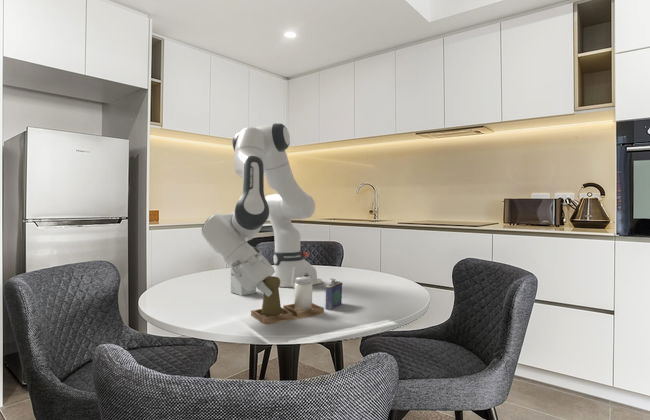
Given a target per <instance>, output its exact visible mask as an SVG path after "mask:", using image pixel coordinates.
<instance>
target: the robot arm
mask: <svg viewBox="0 0 650 420" xmlns="http://www.w3.org/2000/svg"><path fill="white" fill-rule="evenodd" d="M231 143H232V148H233V151H234V155H233V164H234V165H233V166H234V172H235V174H236V175H237V176H239V177H240V178H242V194H241V196H240V197H239V199H238V200H237V201H236V205H235V207H234V211H233V212H230V213H220V214H219V213H213V214H212V215H210V216H209V217H208V218H207V219H206V221H204V224H203V226H202V227H201V235H202V237H203V238H204V240H205V241H206V242H207V244H208V245H209V246H210V247H211V248H212V250H213V251H214V252H215V253H216V254H218V255H220V256H221V259H222V260H223V262H224V263H225V264H226V265H227V267H228V268H230V270H231V269H232V270H233V271H234V272H233V274H234V276H235V278H236V279H237V280H238V282H239V283H240V284H241V285H242V287H243V288H244V289H245V290H247V291H249V292H250V291H251V290H253V289H254V288H255V287H256V290H258V291H260V292H262V293H263V294H264V293H265V294H266V295H267V296H268V297H269V296H270V295H271V294H272V293H273V291H272V290H271V289H270V288H268V287H267V286H266V285H264V284H265V283H264V282H263V280H265V278H266V277H269V276H275V277H278V278H279V279H280V286H279V287H281V288H294V289H295V282H296V277H303V276H305V277H311V282H312V286H314V285H318V284H319V285H320V284H323V279H321V278H319V277H318V272H317V269H316V268H315V267H314V265H312V264H311V263H310V262H308V261H307V260H306V259H305V258H308V257H309V253H308V252H307V251H301V233H300V231H299V230H298V229H297V228H295V227H294V225H293V223H292V220H304V219H309V218H311V217H312V216H313V215H314V214H315V211H316V203H315V200H314V198H313V197H312V196H311V195H309V194H308V193H307V192H306V191H304V190H303V188H301V187H300V185H299V184H298V182H297V181H296V179H295V177H294V174H293V172H292V169H291V165H290V162H289V158H288V155H287V152H286V150H287V149H288V148H289V146H290V143H291V136H290V133H289V130H288V128H287V127H286V125H285V124H283V123H277V122H276V123H273V124H264V125H257V126H255V127H253V126H247V127H244V128H243V129H241V130H240V131H238V132H236V133H235V134H234V136H233V138H232V142H231ZM264 177H265V179H264ZM264 180H265V181H266V183H267V186H268V187H269V188H270V189H272V190H274V191H275V192H276V193H272V194H268V195H266V196H265V189H264V188H265V187H264ZM267 220H269V222H270V224H271V227H272V231H273V236H274V251H273V265H274V266H272V264H271V263H270V262H269V261H268V259H267V258H266V257H265V256H264V255H263V254H262V251H261V249H259V248H258V247H255V246H252V245H250V243H248V242H249V241H251V240H252V239H254V238H255V237H257V235H258V234H259V232H260V231H261V229H262V228H263V225H265V223H266V222H267Z"/></svg>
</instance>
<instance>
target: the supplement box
mask: <svg viewBox="0 0 650 420" xmlns="http://www.w3.org/2000/svg"><path fill="white" fill-rule="evenodd" d="M233 272H234V271H233V270H232V269H231V268H230V293H233V294H236V295H239V296H246V295H252V294H254V293H255V294H256V293H257V287H255V288H254V289H253V290H251V291H250V292H249V291H247V290H245V289H244V288H243V287H242V285H241V284H240V283H239V282H238V280H237V279H236V278H235V276H234V274H233Z"/></svg>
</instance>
